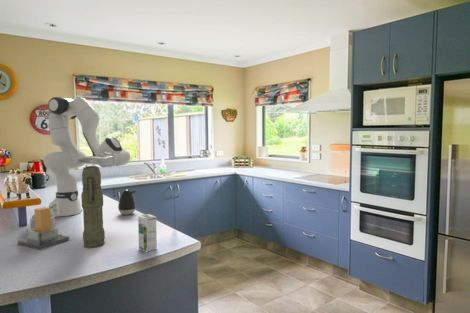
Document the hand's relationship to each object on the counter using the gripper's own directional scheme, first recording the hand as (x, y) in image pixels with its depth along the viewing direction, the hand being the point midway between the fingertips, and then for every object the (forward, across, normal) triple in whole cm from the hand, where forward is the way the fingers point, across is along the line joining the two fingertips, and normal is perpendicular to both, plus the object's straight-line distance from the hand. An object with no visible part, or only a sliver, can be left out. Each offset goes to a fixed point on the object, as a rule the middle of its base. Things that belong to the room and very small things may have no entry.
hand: (83, 161), depth 170 cm
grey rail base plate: (+25, +5, +35) cm, 43 cm away
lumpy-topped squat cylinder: (+14, -14, +36) cm, 41 cm away
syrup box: (+10, +54, +34) cm, 65 cm away
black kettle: (-30, -2, +35) cm, 47 cm away
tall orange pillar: (+25, +5, +33) cm, 42 cm away
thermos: (+17, +29, +35) cm, 48 cm away
